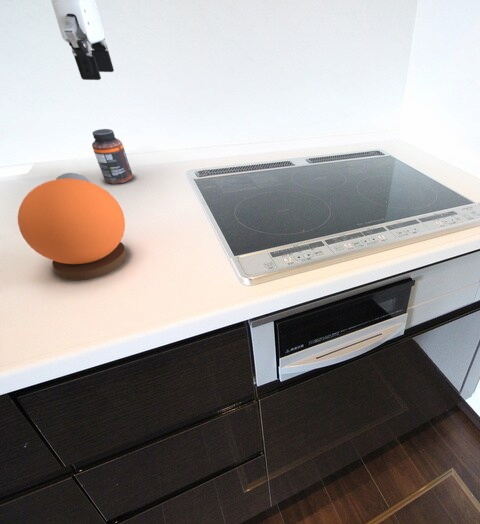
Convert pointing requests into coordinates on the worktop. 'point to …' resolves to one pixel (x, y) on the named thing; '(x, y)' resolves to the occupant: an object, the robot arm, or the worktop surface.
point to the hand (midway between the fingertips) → (99, 75)
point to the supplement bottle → (111, 157)
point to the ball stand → (74, 227)
